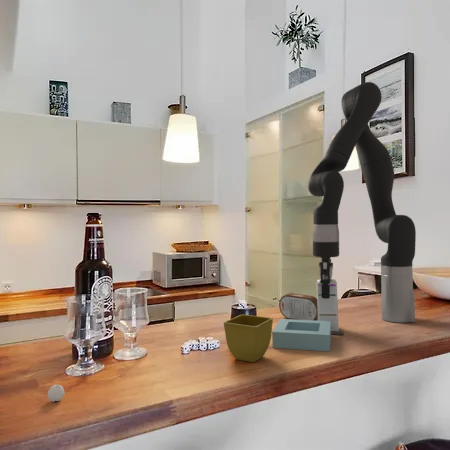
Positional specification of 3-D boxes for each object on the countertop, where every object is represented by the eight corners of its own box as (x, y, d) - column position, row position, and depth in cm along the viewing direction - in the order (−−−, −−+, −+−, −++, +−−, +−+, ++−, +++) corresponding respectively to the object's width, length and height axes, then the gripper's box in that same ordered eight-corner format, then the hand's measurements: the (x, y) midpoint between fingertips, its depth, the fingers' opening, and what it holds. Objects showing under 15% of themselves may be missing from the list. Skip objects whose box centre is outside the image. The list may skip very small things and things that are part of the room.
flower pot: (257, 367, 87) (256, 326, 87) (223, 360, 92) (222, 321, 92) (274, 355, 95) (273, 317, 95) (242, 350, 99) (241, 314, 99)
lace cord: (344, 334, 111) (344, 330, 111) (344, 335, 110) (344, 331, 110) (276, 330, 117) (276, 327, 117) (275, 331, 116) (275, 328, 116)
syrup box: (339, 333, 113) (338, 281, 113) (317, 332, 114) (316, 281, 114) (337, 327, 119) (336, 279, 119) (317, 327, 120) (316, 278, 120)
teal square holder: (331, 335, 110) (330, 321, 110) (329, 351, 97) (329, 335, 97) (280, 332, 114) (280, 318, 114) (272, 347, 101) (272, 331, 101)
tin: (323, 323, 124) (322, 296, 124) (318, 325, 122) (317, 297, 122) (283, 316, 135) (282, 291, 135) (277, 318, 132) (277, 292, 132)
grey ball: (46, 400, 73) (45, 384, 73) (63, 396, 74) (62, 380, 74) (49, 406, 70) (49, 389, 70) (67, 401, 72) (66, 385, 72)
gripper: (338, 241, 109) (339, 300, 109) (339, 239, 122) (339, 292, 122) (310, 241, 111) (311, 299, 111) (314, 239, 124) (314, 291, 124)
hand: (326, 295), depth 116 cm, fingers open, 8 cm apart
